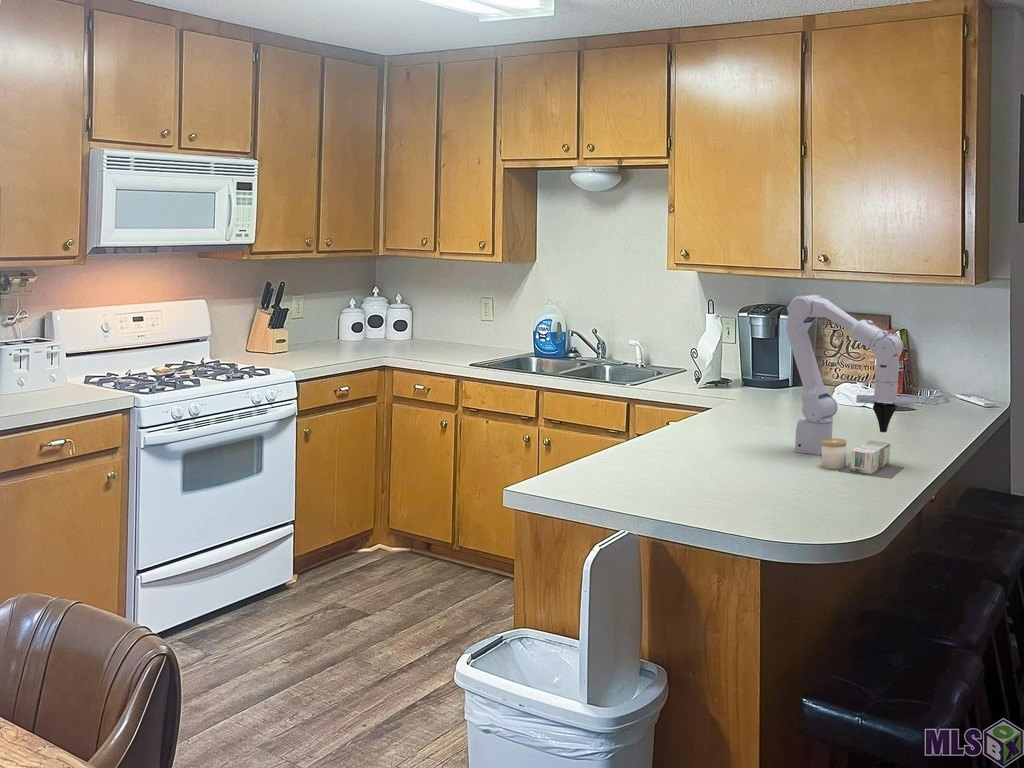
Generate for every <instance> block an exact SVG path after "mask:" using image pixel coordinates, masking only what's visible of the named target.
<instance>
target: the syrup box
mask: <svg viewBox="0 0 1024 768" xmlns="http://www.w3.org/2000/svg"><path fill="white" fill-rule="evenodd" d="M890 455H891V443H889V442H883V441H875V440H868V441H866V442H865V443H863V444H861V445H858V446H857V447H854V448H853V449H851V453H850V463H851V466H850V471H855V472H861V473H868V474H872V473H874V472H875V471H877V470H879V469H880V468H882V467H884V466H885V465H889V464H890Z"/></svg>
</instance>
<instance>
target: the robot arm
mask: <svg viewBox="0 0 1024 768" xmlns="http://www.w3.org/2000/svg"><path fill="white" fill-rule="evenodd" d="M786 310H787V313H788V314H787V320H786V325H785V326H786V327H785V330H786V335H787V337H788V340H789V344H790V348H791V350H792V353H793V357H794V361H795V364H796V368H797V371H798V374H799V377H800V380H801V384H802V387H803V393H802V395H801V398H800V399H801V400H802V407H801V412H802V415H803V417H804V418H805V419H802V418H801V419H799V420H798V421H797V423H796V428H795V444H794V445H795V446H794V451H793V452H794V453H801V454H802V453H803V454H809V455H810V454H811V455H816V456H822V444H821V440H823V439H830V438H833V424H834V422H833V421H834V419H833V418H834V416H835V415H836V413H837V412H838V403H837V400H836V399H835V398H834V397H833V396H832V394H831V390H830V389H829V388H828V387H827V386H826V385H825V384H824V381H823V378H822V374H821V371H820V369H819V365H818V361H817V359H816V355H815V352H814V349H813V344H812V341H811V339H810V336H809V335H810V334H809V333H808V332H809V329H810V327H811V326H812V324H813V323H814V321H816V320H817V319H818V318H826V319H828V320H830V321H832V322H833V323H835V324H836V325H839V326H841V327H842V328H844V329H846V330H848V331H850V335H851V338H852V339H854V340H855V341H857V342H859V343H861V344H862V345H864V346H865V347H867V348H869V350H872V351H873V354H874V356H875V357H876V360H875V374H874V376H875V377H874V388H873V389H874V392H873V395H872V394H871V395H869V394H868V395H867V394H857V395H856V396H855V398H856V400H855V402H856V403H857V404H862V403H863V404H872V409H873V412H874V414H875V417H876V419H877V422H878V428H879V433H886V432H888V428H889V425H890V421H891V419H892V417H893V415H894V413H895V412H896V410H897V409H898V407H904V408H905V407H906V408H910V409H911V408H912V409H913V408H915V407H916V399H912V398H906V397H905V398H904V397H898V386H899V372H900V354H902V353H903V350H904V342H903V340H902V339H901V337H899V335H897V334H889V331H887V330H885V329H884V330H882V329H881V328H879V327H878V326H877V325H875V324H874V321H872V320H870V319H861V320H857V319H856V318H855V317H853V316H851V315H850V314H848V313H847V312H845V311H844V310H843V309H841V308H840V307H839V306H838V305H837V306H836V305H835V304H834V303H832V302H831V301H830V300H829V299H827V298H823V297H822V296H821V295H818V294H809V295H797V296H794V297H793V299H791V300H790V303H789V304H788V305H787V307H786Z"/></svg>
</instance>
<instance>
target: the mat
mask: <svg viewBox="0 0 1024 768" xmlns="http://www.w3.org/2000/svg"><path fill="white" fill-rule="evenodd" d="M850 466H851V462H850V463H848V464H846V468H844V469H838V472H839V473H847V474H854V475H860V476H861V475H862V476H867V475H869V476H870V477H875V476H876V477H877V478H884V479H893V478H894V477H895V476H896V475H898V474H899V472H901V471H902V470H904V469H905V466H898V465H889V464H887V465H885V466H884V467H882V468H880V469H879V470H877V471H875V472H874V473H872V474H868V473H861V472H855V471H850Z"/></svg>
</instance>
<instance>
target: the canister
mask: <svg viewBox="0 0 1024 768" xmlns="http://www.w3.org/2000/svg"><path fill="white" fill-rule="evenodd" d="M821 444H822V455H821V468H824V469H827V470H841V469H844V468H846V466H847V439H844V438H835V437H834V438H833V437H832V438H830V439H823V440H821Z"/></svg>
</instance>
